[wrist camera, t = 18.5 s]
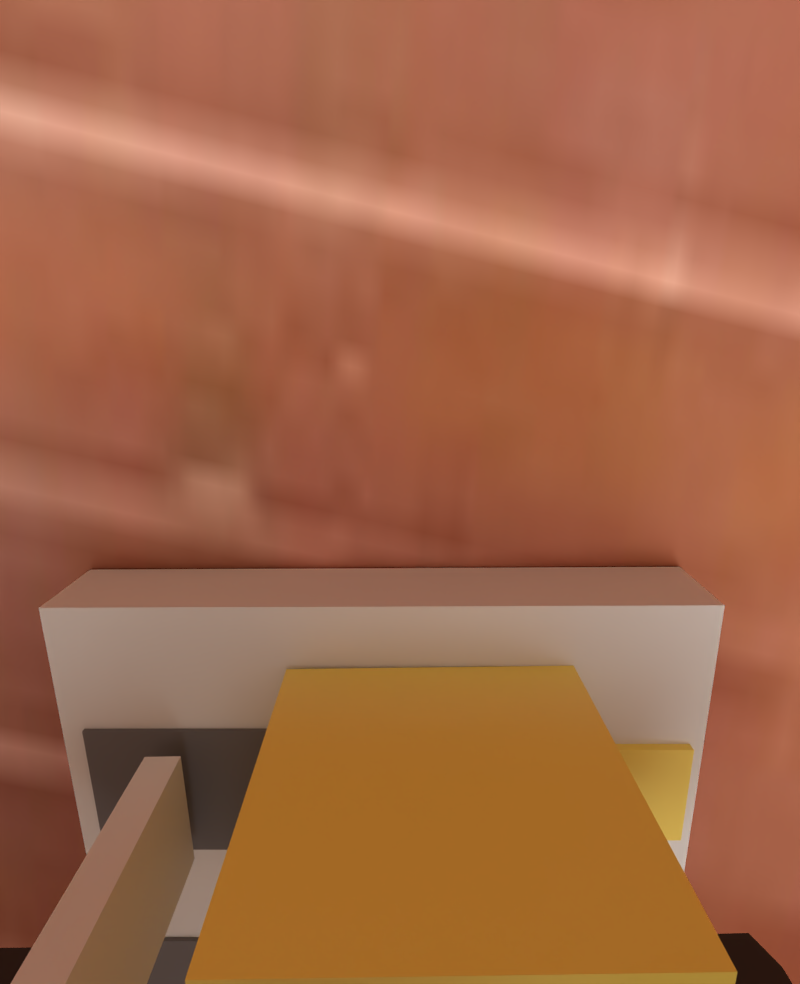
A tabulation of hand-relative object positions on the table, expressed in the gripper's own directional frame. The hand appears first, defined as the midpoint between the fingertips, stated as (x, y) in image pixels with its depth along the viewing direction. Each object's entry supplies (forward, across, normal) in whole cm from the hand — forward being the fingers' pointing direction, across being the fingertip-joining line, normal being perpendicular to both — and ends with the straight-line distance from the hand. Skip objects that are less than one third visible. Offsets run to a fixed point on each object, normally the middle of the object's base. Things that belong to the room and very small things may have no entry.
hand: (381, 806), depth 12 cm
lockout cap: (+1, +1, 0) cm, 1 cm away
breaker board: (+3, 0, -3) cm, 4 cm away
